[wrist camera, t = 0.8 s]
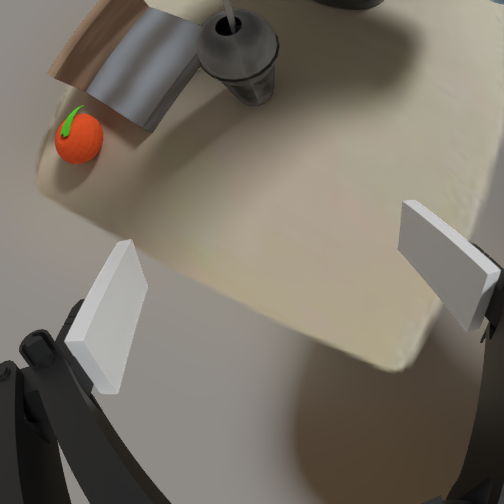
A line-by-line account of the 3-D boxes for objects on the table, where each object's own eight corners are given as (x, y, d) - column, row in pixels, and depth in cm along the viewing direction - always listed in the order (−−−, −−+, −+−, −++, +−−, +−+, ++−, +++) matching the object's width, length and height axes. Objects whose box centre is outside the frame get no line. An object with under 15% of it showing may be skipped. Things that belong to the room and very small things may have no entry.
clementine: (86, 109, 37) (56, 98, 30) (121, 115, 37) (92, 102, 30) (70, 161, 39) (38, 157, 32) (104, 170, 38) (72, 166, 31)
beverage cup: (216, 107, 35) (143, 30, 15) (237, 58, 34) (188, -42, 14) (273, 124, 34) (247, 44, 15) (292, 72, 33) (285, -33, 13)
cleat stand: (89, 92, 37) (46, 73, 27) (148, 13, 34) (117, -20, 24) (152, 132, 37) (111, 115, 27) (220, 42, 33) (198, 2, 24)
